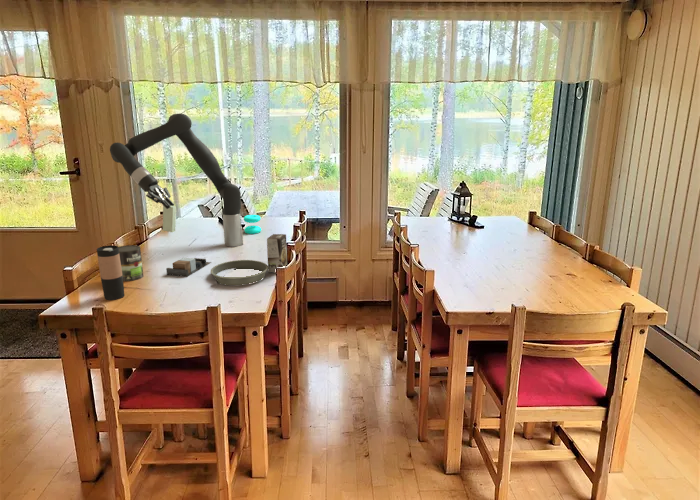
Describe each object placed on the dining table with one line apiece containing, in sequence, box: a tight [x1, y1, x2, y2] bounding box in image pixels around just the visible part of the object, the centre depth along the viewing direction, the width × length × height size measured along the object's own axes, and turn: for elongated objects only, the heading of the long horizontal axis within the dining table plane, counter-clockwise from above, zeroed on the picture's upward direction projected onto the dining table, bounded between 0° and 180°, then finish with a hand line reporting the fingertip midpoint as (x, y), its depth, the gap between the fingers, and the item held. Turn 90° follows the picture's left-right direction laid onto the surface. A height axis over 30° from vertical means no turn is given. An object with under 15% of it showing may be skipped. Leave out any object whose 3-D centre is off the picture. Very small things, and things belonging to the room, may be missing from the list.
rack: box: [165, 257, 212, 278], centre depth 218 cm, size 21×10×4 cm, turn 167°
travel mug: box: [96, 245, 125, 301], centre depth 184 cm, size 8×8×20 cm
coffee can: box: [118, 244, 144, 282], centre depth 205 cm, size 10×10×14 cm
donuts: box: [243, 214, 262, 235], centre depth 285 cm, size 10×10×10 cm
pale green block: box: [162, 205, 177, 233], centre depth 221 cm, size 2×5×12 cm, turn 77°
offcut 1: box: [172, 260, 191, 273], centre depth 211 cm, size 4×6×5 cm, turn 77°
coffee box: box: [266, 233, 288, 274], centre depth 217 cm, size 9×6×16 cm
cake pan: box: [210, 259, 268, 286], centre depth 209 cm, size 25×25×4 cm
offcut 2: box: [177, 257, 196, 272], centre depth 215 cm, size 4×6×5 cm, turn 77°
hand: (170, 206), depth 219 cm, fingers closed on pale green block, 2 cm apart
